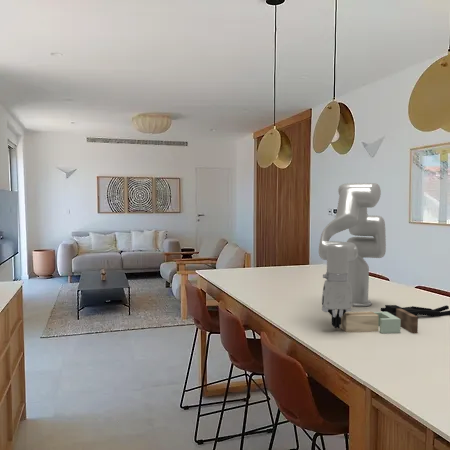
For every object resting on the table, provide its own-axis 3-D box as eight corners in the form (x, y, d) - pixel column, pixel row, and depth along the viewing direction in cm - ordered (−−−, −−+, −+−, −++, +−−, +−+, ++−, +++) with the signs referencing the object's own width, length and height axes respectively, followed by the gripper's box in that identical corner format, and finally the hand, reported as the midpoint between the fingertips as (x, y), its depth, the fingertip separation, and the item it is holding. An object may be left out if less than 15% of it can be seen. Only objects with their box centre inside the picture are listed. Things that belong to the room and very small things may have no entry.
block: (369, 324, 163) (369, 312, 163) (386, 324, 163) (386, 311, 163) (381, 333, 152) (381, 319, 152) (400, 332, 153) (400, 319, 153)
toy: (441, 314, 187) (380, 314, 181) (442, 303, 187) (380, 303, 181) (457, 320, 178) (393, 321, 172) (458, 308, 178) (394, 309, 171)
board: (324, 323, 168) (324, 306, 168) (394, 321, 171) (395, 304, 170) (343, 339, 148) (343, 320, 148) (422, 337, 151) (422, 318, 151)
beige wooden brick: (340, 327, 159) (341, 312, 159) (371, 327, 160) (372, 311, 160) (346, 332, 154) (346, 316, 153) (378, 331, 155) (378, 315, 154)
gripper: (320, 279, 151) (319, 330, 152) (361, 279, 152) (359, 329, 153) (314, 275, 158) (313, 324, 159) (352, 275, 159) (351, 323, 160)
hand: (336, 326), depth 156 cm, fingers closed
